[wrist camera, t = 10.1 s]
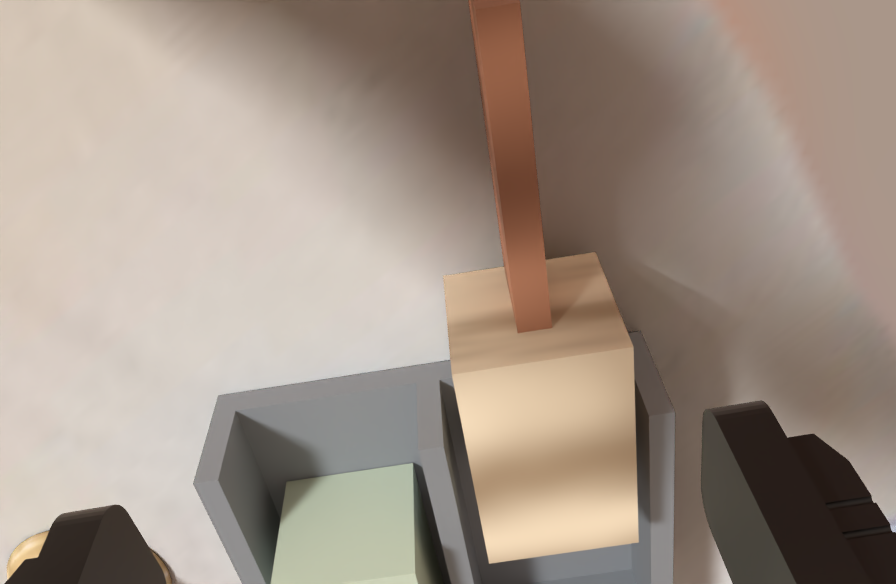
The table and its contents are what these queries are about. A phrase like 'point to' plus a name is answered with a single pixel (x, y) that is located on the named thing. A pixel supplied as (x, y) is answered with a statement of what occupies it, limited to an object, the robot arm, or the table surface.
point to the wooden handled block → (538, 350)
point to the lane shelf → (436, 466)
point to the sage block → (356, 530)
